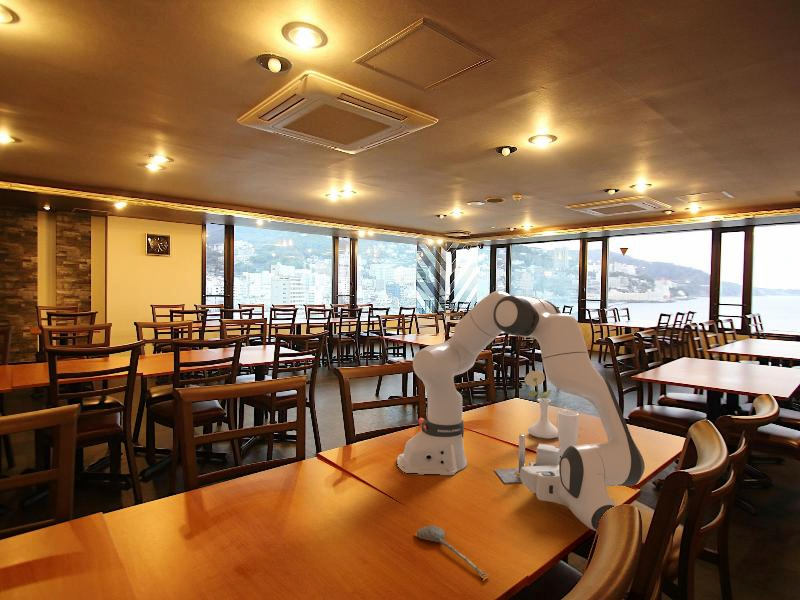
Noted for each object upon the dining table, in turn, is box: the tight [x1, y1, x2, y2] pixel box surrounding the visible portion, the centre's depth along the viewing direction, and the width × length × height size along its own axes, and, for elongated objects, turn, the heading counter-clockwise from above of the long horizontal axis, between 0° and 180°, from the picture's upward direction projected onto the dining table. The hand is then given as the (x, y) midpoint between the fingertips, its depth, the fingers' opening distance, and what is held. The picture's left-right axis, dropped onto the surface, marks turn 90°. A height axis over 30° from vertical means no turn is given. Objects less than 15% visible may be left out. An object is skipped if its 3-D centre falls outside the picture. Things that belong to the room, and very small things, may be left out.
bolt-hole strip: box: [493, 467, 523, 485], centre depth 137 cm, size 26×9×1 cm, turn 97°
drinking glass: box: [556, 409, 580, 458], centre depth 150 cm, size 7×7×15 cm
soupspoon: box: [416, 525, 489, 578], centre depth 98 cm, size 22×3×7 cm
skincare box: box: [535, 443, 561, 466], centre depth 127 cm, size 6×4×12 cm
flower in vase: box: [524, 370, 558, 440], centre depth 169 cm, size 13×11×25 cm
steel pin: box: [516, 433, 526, 476], centre depth 135 cm, size 3×3×12 cm
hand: (546, 463), depth 128 cm, fingers open, 8 cm apart
